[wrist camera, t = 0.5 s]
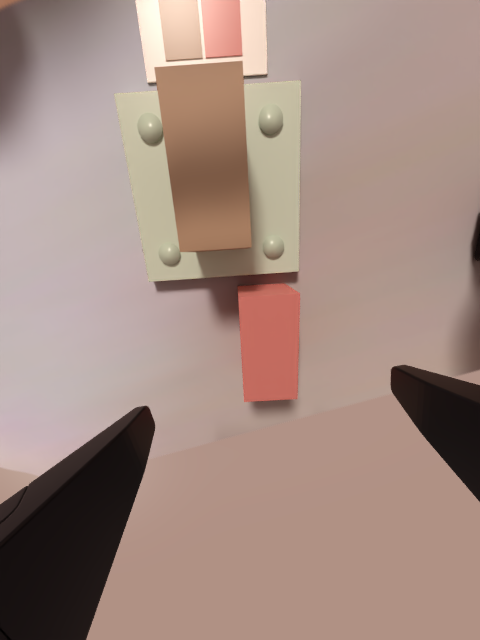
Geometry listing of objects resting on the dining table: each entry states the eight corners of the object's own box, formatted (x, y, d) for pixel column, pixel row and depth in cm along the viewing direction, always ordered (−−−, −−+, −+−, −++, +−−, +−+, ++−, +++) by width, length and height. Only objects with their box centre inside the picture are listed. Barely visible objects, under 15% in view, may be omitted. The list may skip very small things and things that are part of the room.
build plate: (296, 91, 15) (301, 77, 14) (295, 270, 19) (299, 271, 18) (121, 103, 15) (112, 91, 14) (153, 280, 19) (147, 282, 18)
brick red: (237, 285, 19) (238, 297, 14) (283, 283, 19) (300, 293, 14) (242, 368, 21) (244, 401, 17) (283, 366, 21) (297, 398, 17)
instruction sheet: (263, -56, 13) (264, -59, 13) (267, 74, 15) (267, 72, 15) (129, -45, 13) (127, -49, 13) (148, 83, 15) (147, 81, 15)
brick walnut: (180, 127, 15) (154, 67, 10) (240, 122, 15) (242, 60, 10) (195, 252, 17) (179, 252, 12) (247, 248, 17) (251, 247, 12)
